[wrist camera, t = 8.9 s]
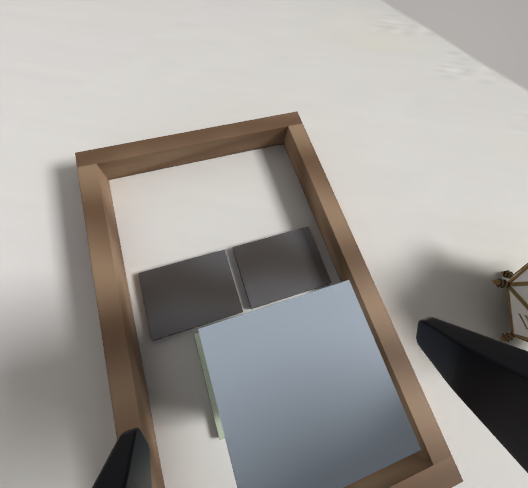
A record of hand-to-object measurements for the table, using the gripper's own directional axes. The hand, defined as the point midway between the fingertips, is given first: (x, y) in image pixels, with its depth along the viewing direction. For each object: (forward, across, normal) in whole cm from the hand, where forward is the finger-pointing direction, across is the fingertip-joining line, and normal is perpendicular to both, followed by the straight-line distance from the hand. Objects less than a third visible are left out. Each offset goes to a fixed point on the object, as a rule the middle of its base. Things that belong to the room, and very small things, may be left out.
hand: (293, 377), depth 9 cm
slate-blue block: (+7, 0, +7) cm, 10 cm away
